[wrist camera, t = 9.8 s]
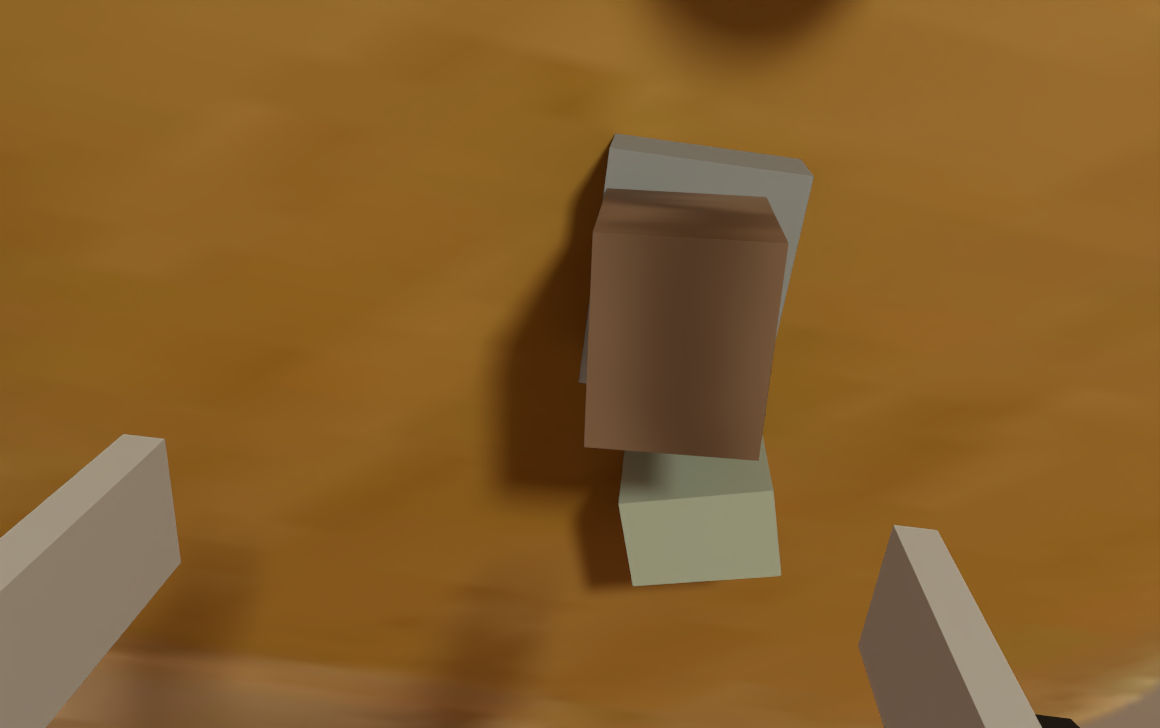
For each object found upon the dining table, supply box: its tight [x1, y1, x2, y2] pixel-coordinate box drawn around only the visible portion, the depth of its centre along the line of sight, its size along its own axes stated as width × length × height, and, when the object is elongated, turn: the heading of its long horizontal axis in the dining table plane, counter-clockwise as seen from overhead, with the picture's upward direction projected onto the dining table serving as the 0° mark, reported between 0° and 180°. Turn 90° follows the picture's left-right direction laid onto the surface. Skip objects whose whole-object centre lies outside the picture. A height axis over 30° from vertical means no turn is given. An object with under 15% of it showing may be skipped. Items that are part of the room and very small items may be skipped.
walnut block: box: [584, 188, 789, 461], centre depth 28 cm, size 6×7×6 cm
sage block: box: [618, 436, 781, 586], centre depth 36 cm, size 6×4×4 cm, turn 99°
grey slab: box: [579, 133, 814, 384], centre depth 32 cm, size 7×9×4 cm
